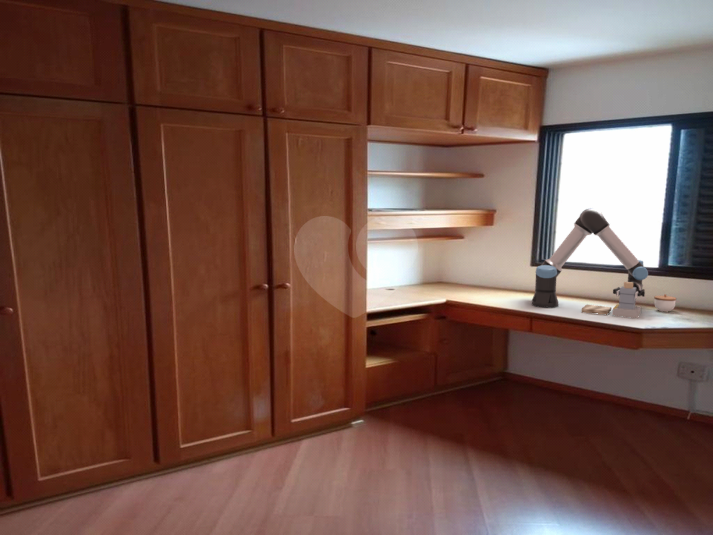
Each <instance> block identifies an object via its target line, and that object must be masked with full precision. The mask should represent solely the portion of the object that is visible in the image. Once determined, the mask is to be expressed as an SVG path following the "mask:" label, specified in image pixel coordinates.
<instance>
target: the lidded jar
mask: <svg viewBox="0 0 713 535" xmlns="http://www.w3.org/2000/svg"><path fill="white" fill-rule="evenodd" d="M653 297H654V298H653V301H654V302H653V303H654V306H655V308H656V309H657V311H658V310H660V311H659V312H663V311H670V312H671V311H672V310H674V308H675V307H676V302H677V298H676V297H674V296H671V295H667V294H666V293H664V295H655V296H653Z"/></svg>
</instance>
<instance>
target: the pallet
mask: <svg viewBox="0 0 713 535" xmlns="http://www.w3.org/2000/svg"><path fill="white" fill-rule="evenodd" d="M610 311H611V312H612V306H605V305H604V306H603V305H594V304H586V305H584V306H582V308H581V313H583V312H586V314H592V313H598V314H597V315H601V314H606V315H605V316H608V315H609V314H610V313H611V312H610ZM608 313H609V314H608ZM607 314H608V315H607Z"/></svg>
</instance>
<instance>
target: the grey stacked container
mask: <svg viewBox="0 0 713 535" xmlns="http://www.w3.org/2000/svg"><path fill="white" fill-rule="evenodd" d="M635 293H636V287H633V289H631V288H624V285H623V286H620V295H619V296H618V297H619V298H618V299H619V301H618V304H619V308H624V309H634V308H635V306H636V302H637V301H636V299H637V298H635Z"/></svg>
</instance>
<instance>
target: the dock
mask: <svg viewBox="0 0 713 535" xmlns="http://www.w3.org/2000/svg"><path fill="white" fill-rule="evenodd" d="M641 309H642V307H641V306H639V305H638V306H637V305H635V308H634V309H624V308H619V303H616V304H615V305H614V307H612V311H611V312H612V315H615V316H614V317H619V316H623V317H622V318H628V317H631V318H630V319H638V318H639V317H640V315H641V314H640V313H641V312H642V310H641ZM638 316H639V317H638Z"/></svg>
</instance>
